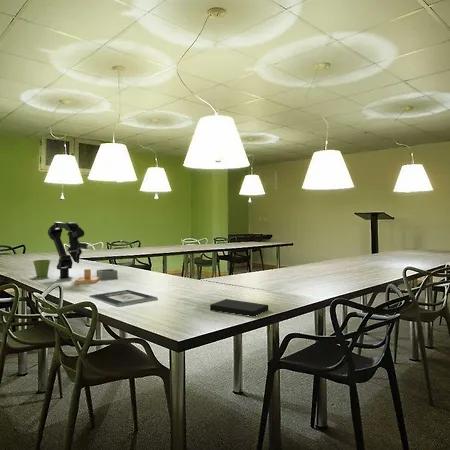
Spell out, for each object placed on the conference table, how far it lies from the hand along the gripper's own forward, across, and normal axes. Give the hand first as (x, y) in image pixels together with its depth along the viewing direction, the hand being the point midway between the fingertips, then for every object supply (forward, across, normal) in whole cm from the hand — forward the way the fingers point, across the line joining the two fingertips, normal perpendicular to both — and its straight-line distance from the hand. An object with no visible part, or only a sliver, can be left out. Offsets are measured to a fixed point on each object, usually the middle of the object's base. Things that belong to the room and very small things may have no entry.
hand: (77, 262), depth 263 cm
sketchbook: (+30, -60, -30) cm, 74 cm away
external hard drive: (+47, -97, -82) cm, 136 cm away
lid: (+15, -8, -6) cm, 18 cm away
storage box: (+14, +4, -17) cm, 23 cm away
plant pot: (+3, +26, +29) cm, 39 cm away
